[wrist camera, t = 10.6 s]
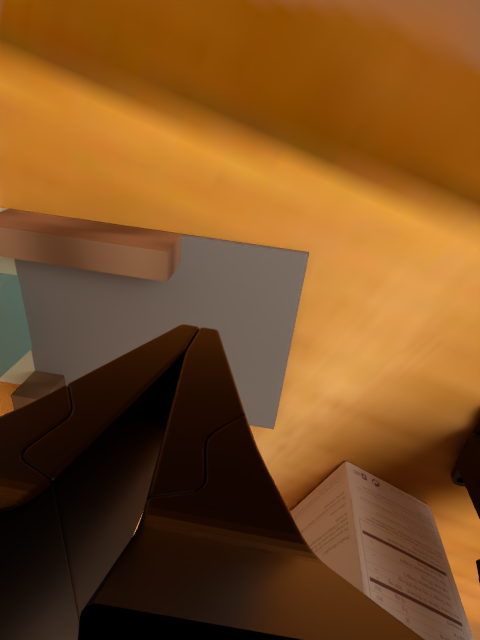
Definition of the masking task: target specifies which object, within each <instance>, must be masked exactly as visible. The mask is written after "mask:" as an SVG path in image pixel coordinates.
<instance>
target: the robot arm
mask: <svg viewBox="0 0 480 640" xmlns="http://www.w3.org/2000/svg"><path fill="white" fill-rule="evenodd" d="M451 478H452V481H453V483H454V484H456V485H460V486H465V487H466V488H467V491H468V493H469V495H470V498H471V500H472V502H473V505H474V507H475V509H476V512H477V514H478V516H479V519H480V421H479V423H478V425H477V427H476V428H475V430H474V432H473V434H472V435H471V436H470V438H469V439H468V441H467V443H466V445H465V447H464V449H463V450H462V452H461V454H460V456H459V458H458V460H457V461H456V465H455V467H454V469H453V471H452V473H451ZM143 510H144V511H143ZM142 513H143V514H142ZM141 515H142V517H141ZM140 517H141V520H140ZM139 520H140V523H139V525H138V529H137V530H136V532H135V534H134V531H135V529H136V527H137V524H138V522H139ZM133 534H134V535H133ZM132 536H133V537H132ZM476 564H477V570H478V575H479V583H480V559H479V560H476ZM0 640H425V639H424V638H422V637H421V636H419V635H418V634H416V633H415V632H414V631H412V630H411V629H410V628H408V627H407V626H406V625H405V624H403V623H402V622H401V621H399V620H398V619H397V618H395V617H394V616H393V615H391V614H390V613H389V612H387V611H386V610H385V609H383V608H382V607H381V606H380V605H378V604H377V603H376V602H374V601H373V600H372V599H370V598H369V597H368V596H366V595H365V594H364V593H362V592H361V591H360V590H358V589H357V588H356V587H354V586H353V585H352V584H351V583H349V582H348V581H347V580H345V579H344V578H343V577H341V576H340V575H339V574H337V573H336V572H335V571H333V570H332V569H331V568H329V567H328V566H327V565H326V564H324V563H323V562H322V561H321V560H320V559H319V558H318V557H317V555H316V554H315V553H314V552H313V550H312V549H311V548H310V547H309V545H308V544H307V542H306V541H305V539H304V537H303V536H302V534H301V532H300V530H299V528H298V527H297V525H296V523H295V521H294V519H293V517H292V515H291V513H290V511H289V509H288V507H287V505H286V504H285V502H284V500H283V498H282V496H281V494H280V492H279V490H278V488H277V486H276V484H275V482H274V481H273V479H272V477H271V475H270V473H269V471H268V469H267V467H266V465H265V463H264V461H263V458H262V456H261V454H260V452H259V450H258V448H257V445H256V442H255V440H254V437H253V434H252V432H251V429H250V426H249V423H248V420H247V417H246V414H245V411H244V408H243V405H242V402H241V399H240V396H239V393H238V390H237V387H236V383H235V380H234V377H233V374H232V371H231V368H230V365H229V362H228V359H227V356H226V353H225V350H224V347H223V344H222V340H221V337H220V334H219V332H218V330H216V329H211V328H204V327H202V328H200V329H199V327H197V326H192V325H186V324H182V325H179V326H177V327H175V328H173V329H172V330H170V331H168V332H166V333H164V334H162V335H160V336H158V337H156V338H154V339H152V340H151V341H149V342H147V343H145V344H143V345H141V346H139V347H137V348H135V349H133V350H131V351H130V352H128V353H126V354H124V355H122V356H120V357H118V358H116V359H114V360H112V361H110V362H109V363H107V364H105V365H103V366H101V367H99V368H97V369H95V370H93V371H91V372H89V373H87V374H86V375H84V376H82V377H80V378H78V379H76V380H74V381H72V382H70V383H69V384H68V386H67V385H64V386H62V387H60V388H59V389H57V390H55V391H53V392H51V393H49V394H47V395H45V396H43V397H41V398H39V399H37V400H35V401H33V402H31V403H29V404H27V405H25V406H23V407H20V408H18V409H16V410H14V411H12V412H9V413H7V414H5V415H3V416H0Z"/></svg>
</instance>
